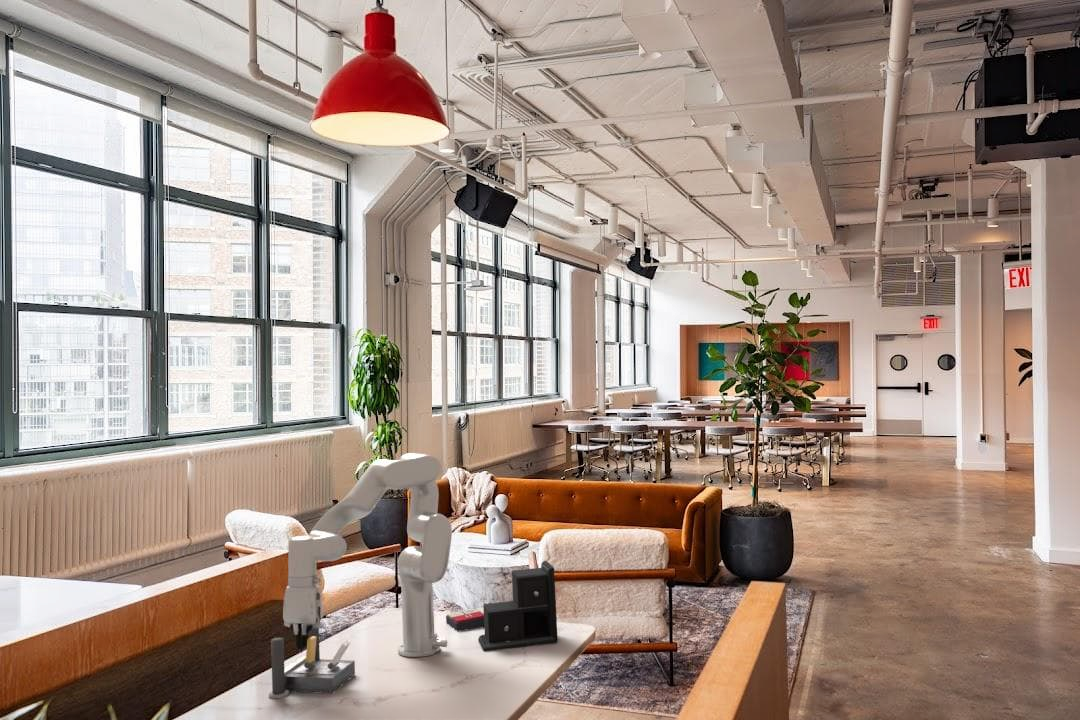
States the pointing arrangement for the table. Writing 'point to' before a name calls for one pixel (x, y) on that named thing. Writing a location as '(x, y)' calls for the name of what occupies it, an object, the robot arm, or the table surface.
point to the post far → (316, 633)
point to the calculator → (466, 619)
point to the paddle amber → (310, 652)
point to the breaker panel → (317, 675)
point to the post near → (278, 669)
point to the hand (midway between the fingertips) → (302, 648)
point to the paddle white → (338, 655)
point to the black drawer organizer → (523, 612)
